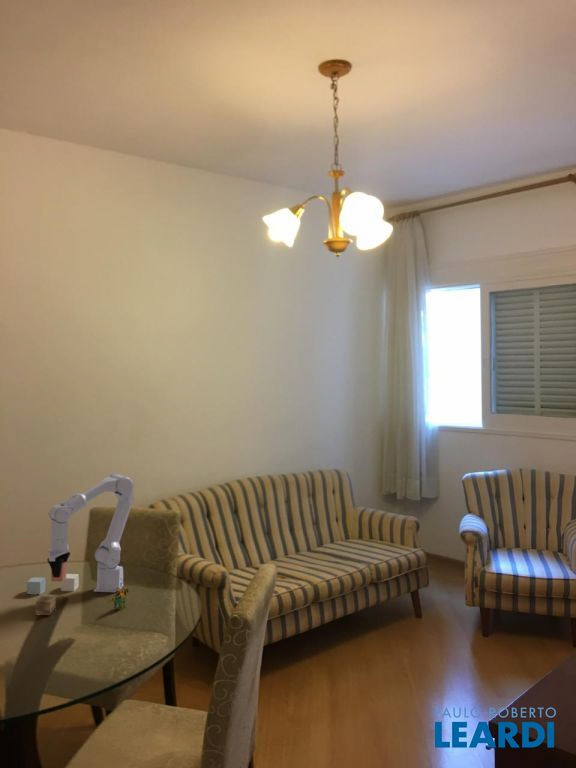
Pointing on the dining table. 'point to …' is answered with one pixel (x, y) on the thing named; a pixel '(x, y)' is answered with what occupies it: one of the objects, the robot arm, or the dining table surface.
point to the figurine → (120, 597)
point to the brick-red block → (62, 574)
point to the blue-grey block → (36, 585)
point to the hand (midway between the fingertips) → (58, 574)
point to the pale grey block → (70, 582)
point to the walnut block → (45, 605)
